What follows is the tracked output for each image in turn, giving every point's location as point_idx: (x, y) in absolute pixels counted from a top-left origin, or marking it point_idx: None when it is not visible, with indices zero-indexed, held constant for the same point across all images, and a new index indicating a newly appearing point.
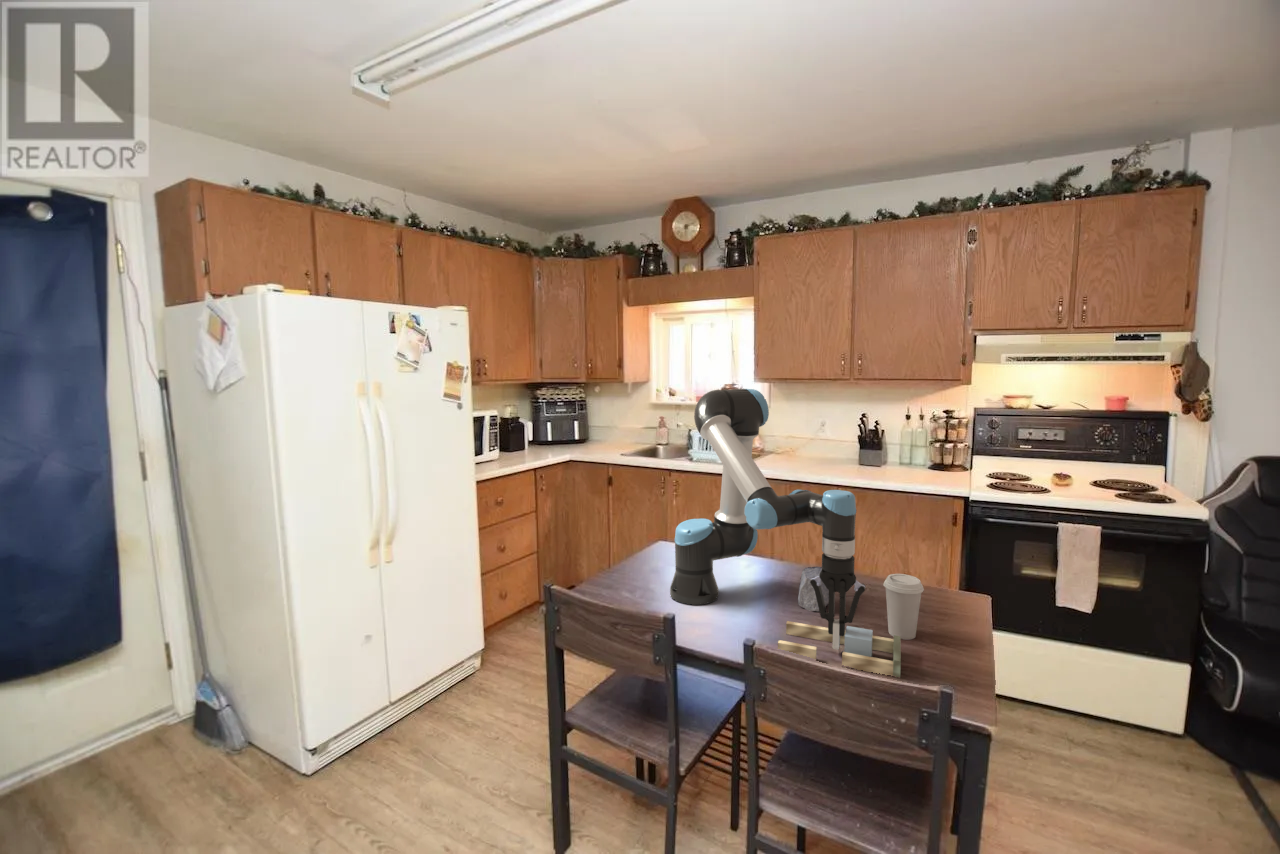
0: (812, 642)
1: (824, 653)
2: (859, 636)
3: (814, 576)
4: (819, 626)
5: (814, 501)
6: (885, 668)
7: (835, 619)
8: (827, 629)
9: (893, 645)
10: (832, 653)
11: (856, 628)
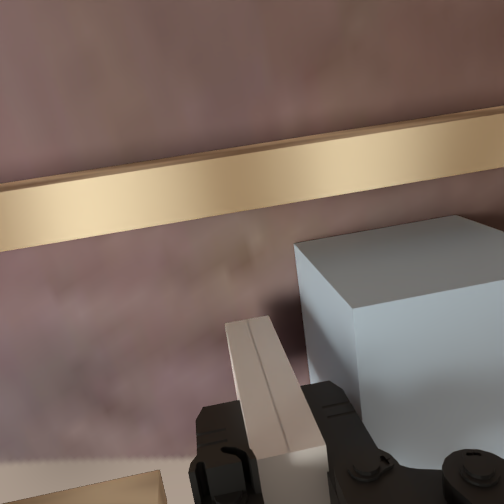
0: (52, 282)
1: (182, 382)
2: (484, 449)
3: None
4: (37, 185)
5: None
6: None
7: (270, 463)
8: (129, 211)
9: None
10: (227, 354)
11: (448, 313)
